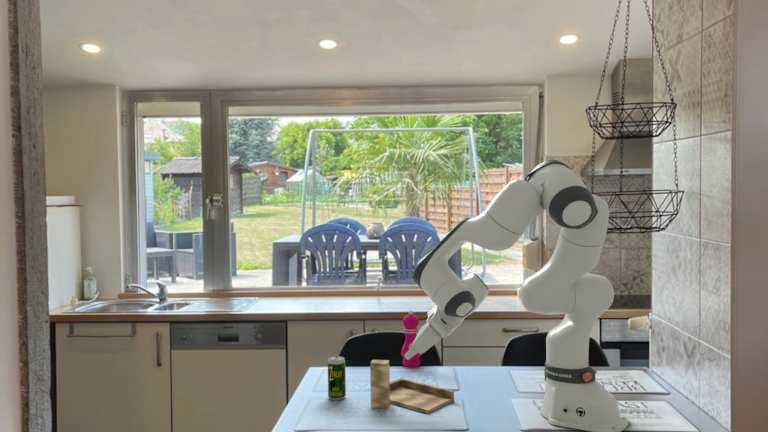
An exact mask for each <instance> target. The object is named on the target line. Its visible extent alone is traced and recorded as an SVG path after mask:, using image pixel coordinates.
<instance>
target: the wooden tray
mask: <svg viewBox="0 0 768 432" xmlns="http://www.w3.org/2000/svg"><path fill="white" fill-rule="evenodd" d="M453 402H455V391H454V390H451V389H447V388H443V387H439V386H436V385H435V386H434V385H431V384H427V383H422V382H418V381H414V380H410V379H406V378H402V377H401V378H398V379H395V380H393V381H390V405H391V404H392V405H396V406H398V405H399V406H400V407H403V408H406V409H409V410H411V411H412V410H413V411H417V412H419V413H424V414H428V415H429V414H430V413H432V412H434V411H437V410H438V409H441V408H443V407H445V406H447V405H449V404H451V403H453ZM399 406H398V407H399Z"/></svg>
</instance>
